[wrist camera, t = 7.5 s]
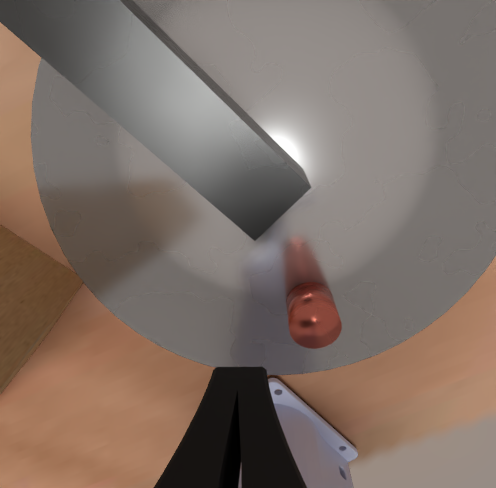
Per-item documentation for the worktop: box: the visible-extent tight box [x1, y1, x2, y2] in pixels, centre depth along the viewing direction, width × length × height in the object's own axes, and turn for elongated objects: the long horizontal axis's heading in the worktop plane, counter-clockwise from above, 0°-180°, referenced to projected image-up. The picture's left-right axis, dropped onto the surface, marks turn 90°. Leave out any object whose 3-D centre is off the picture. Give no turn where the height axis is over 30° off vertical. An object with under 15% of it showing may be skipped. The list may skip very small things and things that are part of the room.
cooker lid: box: [0, 0, 496, 375], centre depth 10 cm, size 17×14×3 cm
